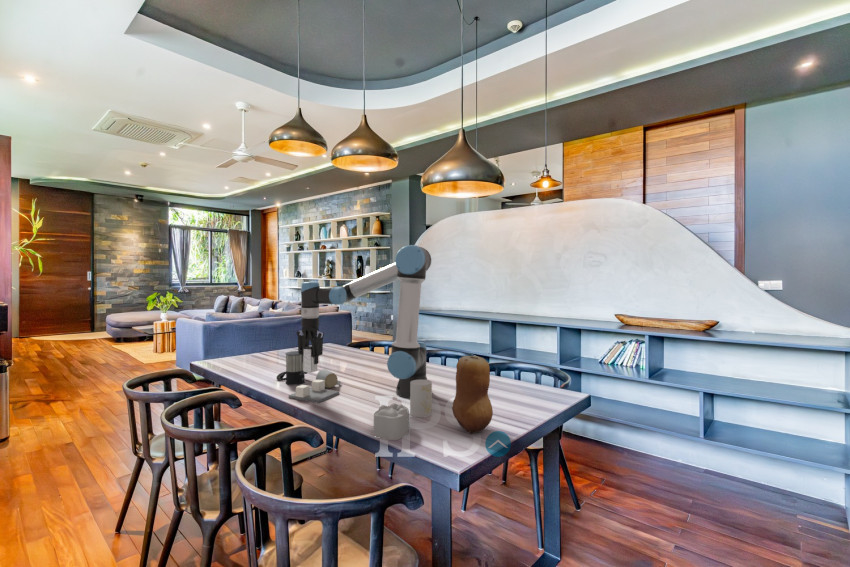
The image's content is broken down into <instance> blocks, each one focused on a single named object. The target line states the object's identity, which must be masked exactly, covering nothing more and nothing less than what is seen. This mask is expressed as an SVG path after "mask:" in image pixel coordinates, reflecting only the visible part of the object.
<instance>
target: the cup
mask: <svg viewBox="0 0 850 567" xmlns="http://www.w3.org/2000/svg"><path fill="white" fill-rule="evenodd" d="M432 388H433V382H432V381H431V380H429V379H427V380H413V381H411V382H410V398H409V401H410V402H409V404H410V407H409V408H410V410H409V411H410V412H409V415H411V416H412V417H415V418H427V417H430V416H432V414H433V409H432V408H433V406H432V403H433V399H432V398H433V394H432V392H433V391H432V390H433V389H432Z"/></svg>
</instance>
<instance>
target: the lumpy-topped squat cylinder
mask: <svg viewBox="0 0 850 567" xmlns="http://www.w3.org/2000/svg"><path fill="white" fill-rule="evenodd" d="M409 411H410V410H409V408H408V407H407V406H405V405H403V404H397V403H391V404H390V405H389V406H388V405H385V404H384V405H383V404H382V405H380V406H379V407H378V410H376V411H375V412H374V413H373V436H376V437H380V438H379V439H383V438H385V439H384V440H389V441H398V440H401V439H403V438H404V437H406V436H407V435H408V434H409V433H410V412H409ZM376 437H375V438H376Z"/></svg>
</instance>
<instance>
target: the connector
mask: <svg viewBox="0 0 850 567" xmlns="http://www.w3.org/2000/svg"><path fill="white" fill-rule="evenodd" d="M312 356H313V350H312V345H309V346H305V349H304V372H308V373H309V374H311V373H313V372H312ZM308 373H307V374H308Z"/></svg>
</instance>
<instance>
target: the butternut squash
mask: <svg viewBox="0 0 850 567" xmlns="http://www.w3.org/2000/svg"><path fill="white" fill-rule="evenodd" d="M490 370H491V369H490V364H489V362H488V361H487V360H486V359H485V358H484V357H481V356H477V355H473V356H472V355H471V356H470V355H464V356H461V357H460V358H459V359H458V362H457V363H456V373H455V396H454V400H453V402H452V413H453V416H454V418H455V419H456V421H457V423H458V424H459V426H460V427H461V428H462V429H463V430H464V431H465V432H467V433H469V434H474V433H479V432H482V431H483V430H484V429H486V428H487V427H488V426H489V425H490V423H491V421H492V419H493V416H494V414H493V411H494V410H493V405H492V403H491V400H490V397H489V394H488V392H489V388H490V380H491V379H490V378H491V377H490V376H491V375H490V374H491V371H490Z"/></svg>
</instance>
